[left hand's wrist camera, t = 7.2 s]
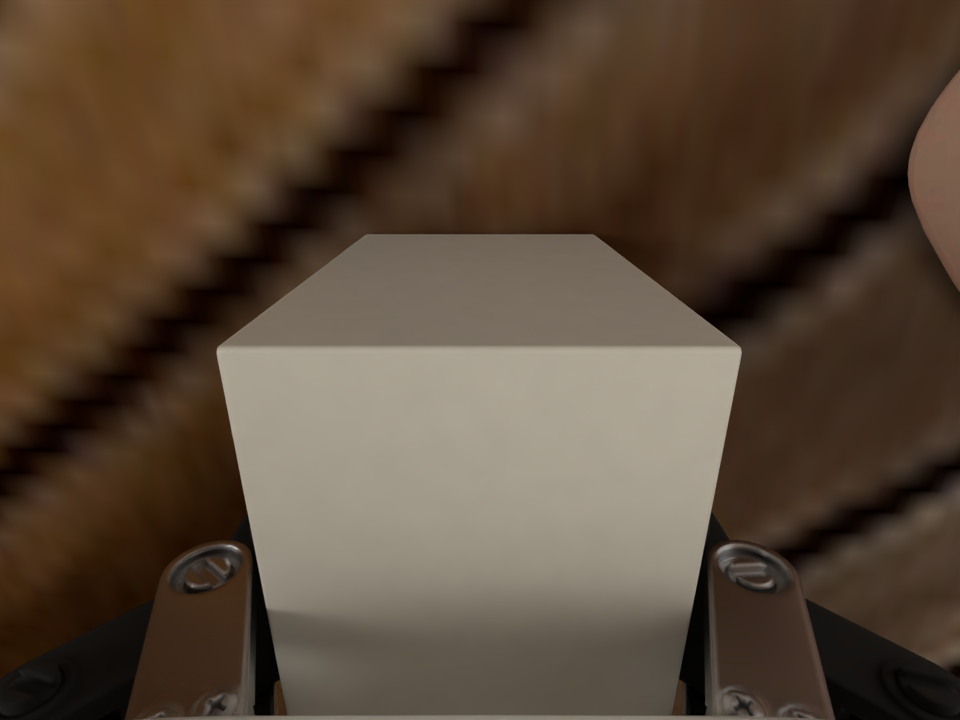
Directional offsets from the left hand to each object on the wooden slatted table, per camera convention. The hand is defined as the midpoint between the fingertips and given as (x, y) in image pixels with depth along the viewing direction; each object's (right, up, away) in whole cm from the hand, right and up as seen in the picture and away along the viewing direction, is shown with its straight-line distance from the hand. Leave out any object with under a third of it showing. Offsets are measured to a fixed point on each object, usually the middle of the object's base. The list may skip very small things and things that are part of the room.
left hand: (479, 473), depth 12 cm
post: (0, -29, +15) cm, 33 cm away
